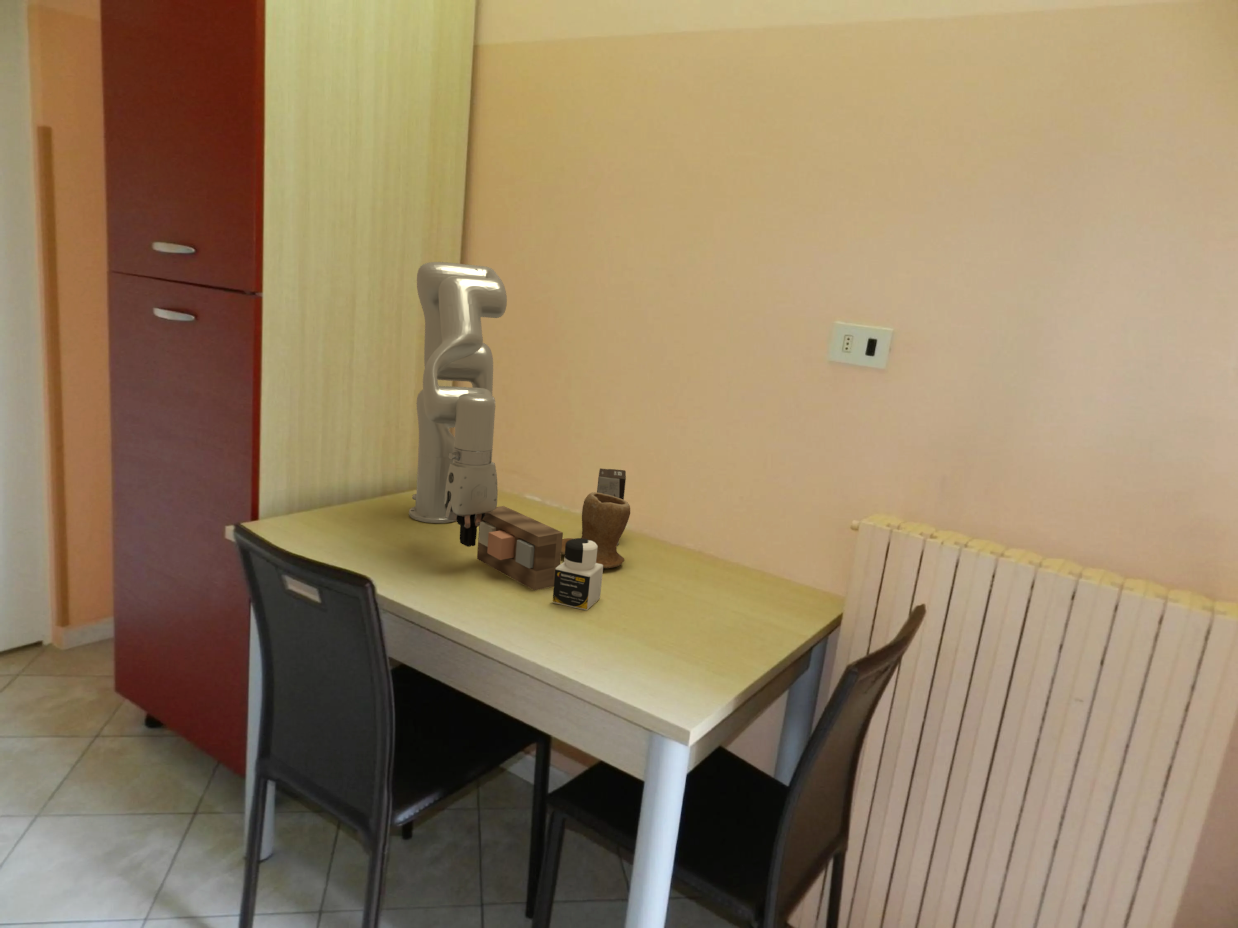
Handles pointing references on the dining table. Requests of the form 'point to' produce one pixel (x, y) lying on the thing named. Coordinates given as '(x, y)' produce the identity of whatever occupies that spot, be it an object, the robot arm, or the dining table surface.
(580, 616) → the dining table surface
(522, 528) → the wooden button box
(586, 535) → the stone cup
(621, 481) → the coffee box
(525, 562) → the slate key
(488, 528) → the ivory key
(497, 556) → the terracotta key
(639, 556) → the dining table surface
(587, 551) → the medicine bottle
